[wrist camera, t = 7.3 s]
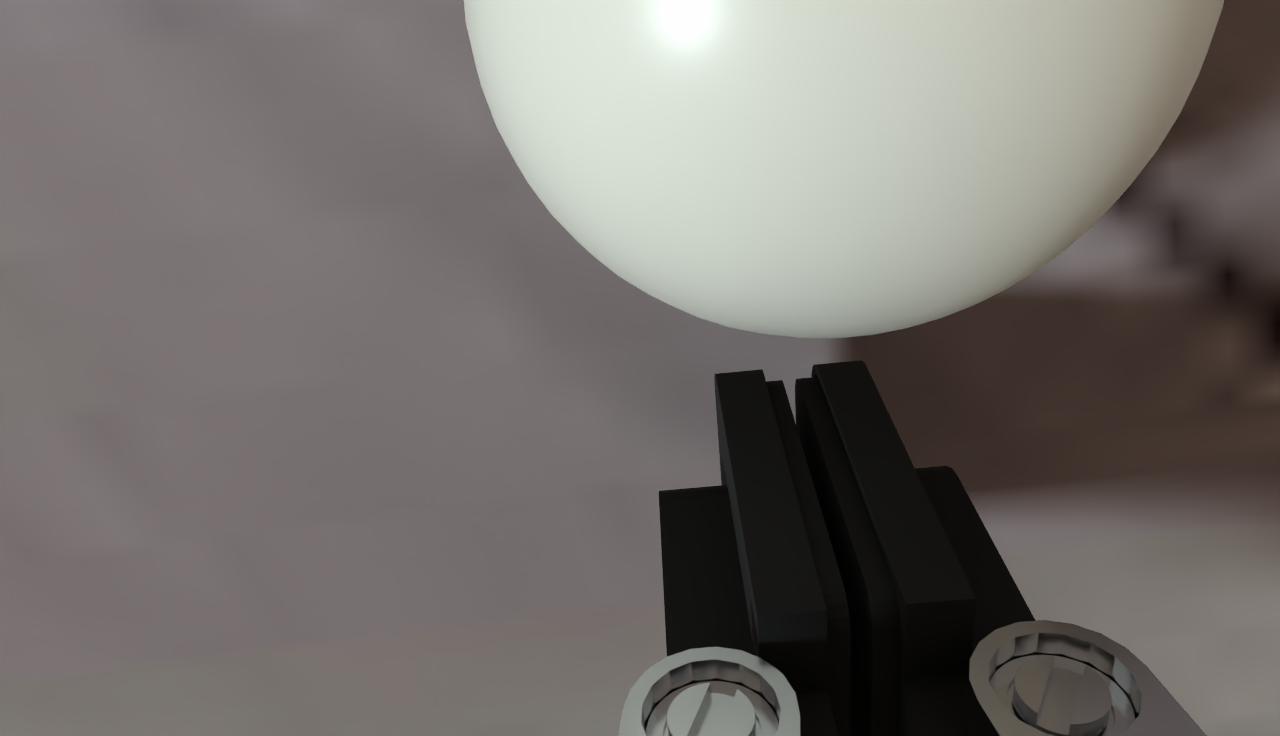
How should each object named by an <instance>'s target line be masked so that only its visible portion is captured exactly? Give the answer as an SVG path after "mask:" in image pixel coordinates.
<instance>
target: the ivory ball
mask: <svg viewBox="0 0 1280 736" xmlns="http://www.w3.org/2000/svg"><path fill="white" fill-rule="evenodd" d="M1223 4H1224V0H464V8H465V19H466V25H467V30H468V34H469V38H470V43H471V47H472V51H473V56H474V60H475V64H476V68H477V72H478V76H479V79H480V83H481V87H482V90H483V92H484V95H485V98H486V100H487V103H488V105H489V108H490V111H491V113H492V116H493V119H494V121H495V124H496V127H497V129H498V131H499V132H500V134H501V136H502V138H503V140H504V142H505V144H506V145H507V147H508V149H509V151H510V153H511V155H512V156H513V158H514V160H515V162H516V164H517V165H518V167H519V169H520V170H521V172H522V174H523V175H524V177H525V179H526V180H527V182H528V183H529V185H530V186H531V187H532V189H533V190H534V192H535V193H536V194H537V196H538V197H539V198H540V200H541V201H542V202H543V204H544V205H545V207H546V208H547V209H548V211H549V212H550V213H551V214H552V215H553V216H554V218H555V219H556V220H557V221H558V222H559V223H560V224H561V225H562V226H563V227H564V228H565V229H566V230H567V231H568V232H569V233H570V234H571V235H572V236H573V237H574V238H575V239H576V240H577V241H578V242H579V243H580V244H581V245H582V246H583V247H584V248H585V249H586V250H587V251H588V252H590V253H591V254H592V255H593V256H594V257H595V258H597V259H598V260H599V261H600V262H602V263H603V264H604V265H605V266H607V267H608V268H609V269H610V270H612V271H613V272H614V273H615V274H617V275H618V276H619V277H621V278H622V279H624V280H626V281H627V282H629V283H631V284H632V285H634V286H636V287H637V288H639V289H641V290H642V291H644V292H645V293H647V294H649V295H651V296H653V297H655V298H657V299H659V300H661V301H663V302H665V303H667V304H669V305H671V306H674V307H676V308H678V309H680V310H682V311H685V312H687V313H689V314H691V315H694V316H696V317H698V318H701V319H705V320H708V321H711V322H714V323H717V324H720V325H723V326H727V327H730V328H735V329H740V330H745V331H750V332H755V333H760V334H768V335H779V336H790V337H800V338H846V337H856V336H866V335H875V334H880V333H885V332H890V331H895V330H900V329H905V328H909V327H913V326H916V325H920V324H923V323H927V322H930V321H933V320H937V319H940V318H943V317H945V316H948V315H950V314H953V313H956V312H958V311H961V310H963V309H966V308H969V307H971V306H973V305H975V304H978V303H980V302H982V301H984V300H986V299H988V298H990V297H992V296H994V295H996V294H998V293H1000V292H1002V291H1004V290H1006V289H1007V288H1009V287H1011V286H1012V285H1014V284H1016V283H1017V282H1019V281H1021V280H1022V279H1024V278H1026V277H1027V276H1029V275H1031V274H1032V273H1034V272H1036V271H1037V270H1038V269H1040V268H1041V267H1042V266H1044V265H1045V264H1047V263H1048V262H1049V261H1051V260H1052V259H1053V258H1055V257H1056V256H1057V255H1059V254H1060V253H1062V252H1063V251H1064V250H1066V249H1067V248H1068V247H1069V246H1070V245H1071V244H1073V243H1074V242H1075V241H1076V240H1077V239H1078V238H1079V237H1080V236H1082V235H1083V234H1084V233H1085V232H1086V231H1087V230H1088V229H1090V228H1091V227H1092V226H1093V225H1094V224H1095V223H1096V222H1097V221H1098V220H1099V219H1100V218H1101V217H1102V216H1103V215H1104V214H1105V212H1106V211H1107V210H1108V209H1109V208H1110V207H1111V206H1112V205H1113V204H1114V203H1115V202H1116V201H1117V200H1118V199H1119V198H1120V197H1121V195H1122V194H1123V193H1124V192H1125V191H1126V190H1127V188H1128V187H1129V186H1130V185H1131V184H1132V182H1133V181H1134V180H1135V179H1136V177H1137V176H1138V175H1139V173H1140V172H1141V171H1142V170H1143V168H1144V167H1145V166H1146V164H1147V163H1148V162H1149V161H1150V159H1151V158H1152V157H1153V155H1154V154H1155V153H1156V151H1157V150H1158V149H1159V147H1160V145H1161V144H1162V142H1163V140H1164V139H1165V137H1166V136H1167V134H1168V132H1169V131H1170V129H1171V128H1172V126H1173V124H1174V123H1175V121H1176V120H1177V118H1178V116H1179V115H1180V113H1181V111H1182V109H1183V107H1184V105H1185V102H1186V100H1187V98H1188V96H1189V94H1190V92H1191V90H1192V88H1193V86H1194V84H1195V82H1196V80H1197V77H1198V75H1199V73H1200V70H1201V68H1202V65H1203V62H1204V60H1205V57H1206V55H1207V52H1208V49H1209V46H1210V43H1211V40H1212V37H1213V35H1214V32H1215V29H1216V26H1217V23H1218V20H1219V17H1220V14H1221V11H1222V8H1223Z"/></svg>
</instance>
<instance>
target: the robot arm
mask: <svg viewBox="0 0 1280 736" xmlns="http://www.w3.org/2000/svg"><path fill="white" fill-rule="evenodd" d="M715 395H716V409H717V424H718V438H719V453H720V467H721V481H722V486H711V487H700V488H688V489H677V490H665V491H659V506H660V526H661V546H662V565H663V585H664V605H665V625H666V644H667V657H666V658H664V659H663V660H661V661H659V662H658V663H656V664H655V665H653V666H652V667H650V668H649V669H647V670H646V671H645V672H644V673H643V674H642V676H641V677H640V678H639V679H638V680H637V681H636V682H635V684H634V685H633V686H632V687H631V689H630V692H629V695H628V697H627V700H626V702H625V705H624V707H623V712H622V717H621V722H620V727H619V733H618V736H1207V735H1206V734H1205V733H1204V732H1203V731H1202V730H1201V729H1200V727H1199V726H1198V725H1197V724H1196V723H1195V722H1194V720H1193V719H1192V718H1191V717H1190V716H1189V715H1188V714H1187V712H1186V711H1185V710H1184V709H1183V708H1182V707H1181V705H1180V704H1179V703H1178V702H1177V701H1176V700H1175V699H1174V697H1173V696H1172V695H1171V694H1170V693H1169V692H1168V690H1167V689H1166V688H1165V687H1164V686H1163V685H1162V683H1161V682H1160V681H1159V680H1158V679H1157V678H1156V677H1155V675H1154V674H1153V673H1152V672H1151V671H1150V670H1149V668H1148V667H1147V666H1146V665H1145V664H1144V663H1142V662H1141V661H1140V660H1139V659H1138V658H1137V657H1136V656H1135V655H1134V654H1132V653H1131V652H1130V651H1129V650H1128V649H1127V648H1126V647H1124V646H1122V645H1120V644H1119V643H1117V642H1115V641H1113V640H1111V639H1110V638H1108V637H1106V636H1104V635H1103V634H1101V633H1098V632H1095V631H1092V630H1089V629H1086V628H1083V627H1080V626H1077V625H1074V624H1069V623H1062V622H1054V621H1047V620H1039V621H1035V619H1034V617H1033V615H1032V614H1031V612H1030V610H1029V608H1028V606H1027V604H1026V602H1025V601H1024V599H1023V597H1022V595H1021V593H1020V591H1019V589H1018V588H1017V586H1016V584H1015V582H1014V580H1013V578H1012V576H1011V575H1010V573H1009V571H1008V569H1007V567H1006V565H1005V563H1004V561H1003V560H1002V558H1001V556H1000V554H999V552H998V550H997V548H996V547H995V545H994V543H993V541H992V539H991V537H990V535H989V534H988V532H987V530H986V528H985V526H984V524H983V522H982V521H981V519H980V517H979V515H978V513H977V511H976V509H975V508H974V506H973V504H972V502H971V500H970V498H969V496H968V495H967V493H966V491H965V489H964V487H963V485H962V483H961V482H960V480H959V478H958V476H957V475H956V473H955V472H954V470H953V469H952V468H950V467H948V466H941V467H929V468H918V469H915V468H914V466H913V464H912V462H911V460H910V457H909V455H908V453H907V451H906V449H905V447H904V445H903V443H902V441H901V438H900V436H899V434H898V432H897V430H896V428H895V426H894V424H893V422H892V419H891V417H890V415H889V413H888V411H887V409H886V407H885V405H884V403H883V400H882V398H881V396H880V394H879V392H878V390H877V388H876V386H875V384H874V381H873V379H872V377H871V375H870V373H869V371H868V369H867V367H866V365H865V363H864V362H863V361H851V362H840V363H829V364H818V365H814V366H813V368H812V378H802V379H796V384H795V404H796V424H795V421H794V417H793V414H792V411H791V407H790V404H789V400H788V397H787V394H786V390H785V387H784V384H783V381H782V380H780V381H769V382H766V381H765V377H764V373H763V370H752V371H741V372H731V373H720V374H715Z"/></svg>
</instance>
